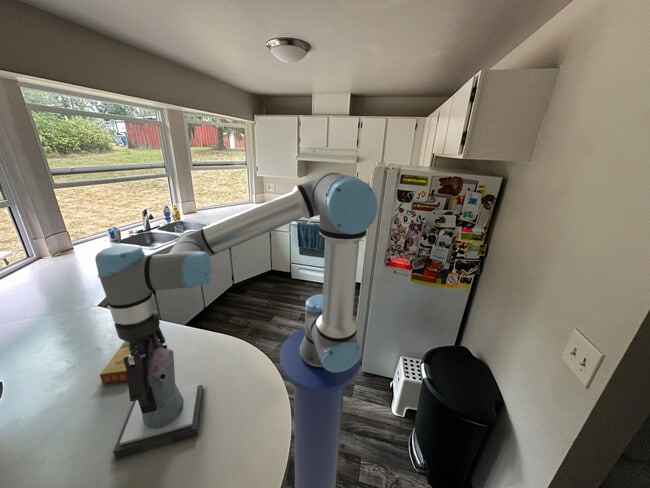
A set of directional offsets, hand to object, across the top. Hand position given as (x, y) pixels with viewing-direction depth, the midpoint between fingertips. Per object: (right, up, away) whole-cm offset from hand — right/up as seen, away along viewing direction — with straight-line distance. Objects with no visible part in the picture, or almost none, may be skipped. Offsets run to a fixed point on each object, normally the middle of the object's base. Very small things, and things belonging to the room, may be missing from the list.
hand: (156, 390), depth 61 cm
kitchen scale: (0, -10, +4) cm, 11 cm away
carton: (-22, -3, +21) cm, 31 cm away
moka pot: (0, -7, +3) cm, 8 cm away
